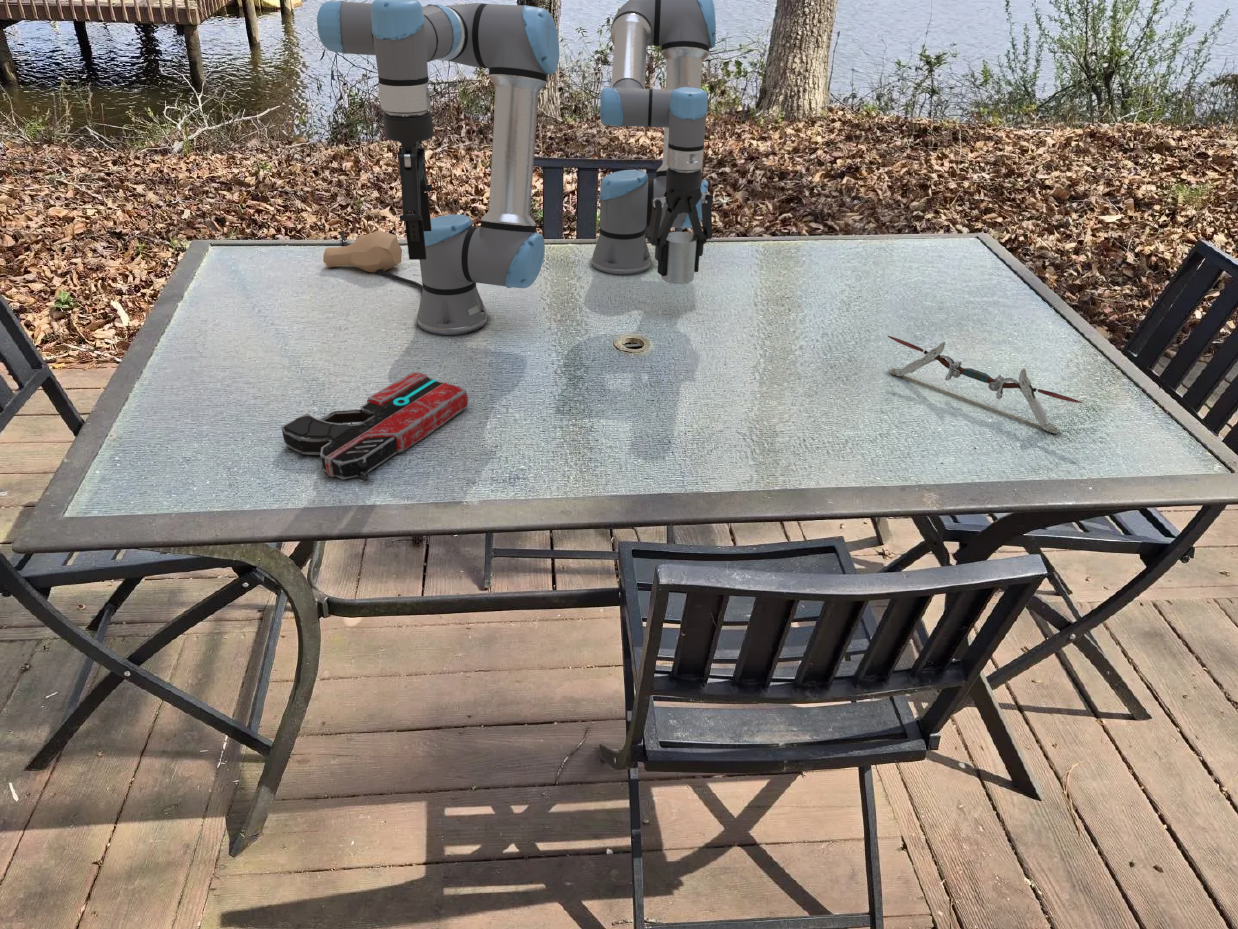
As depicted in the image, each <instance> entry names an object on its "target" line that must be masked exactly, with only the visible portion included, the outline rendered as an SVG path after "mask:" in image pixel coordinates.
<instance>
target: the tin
mask: <svg viewBox="0 0 1238 929" xmlns="http://www.w3.org/2000/svg"><path fill="white" fill-rule="evenodd" d="M696 245H697V237H696V236H695V235H694V233H691V232H687V231H670V232H669V234H668V237H667V239H666V242H665V244H664V246H666V247H667V258H666V275H665V276H661V275H660V276H661V279H662V280H663V281H664V282H666V283H668V284H675V285H684V284H685V285H687V284H690V283H692V282H693V281H694V280H695V272H694V271H695V258H696Z"/></svg>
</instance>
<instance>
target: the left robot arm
mask: <svg viewBox="0 0 1238 929" xmlns="http://www.w3.org/2000/svg"><path fill="white" fill-rule="evenodd" d="M316 26H317V35H318V37H319V40H320V42H321V44H322V45H323V47H324V48H325V49H326V50H328V51H330V52H333V53H341V54H343V55H362V56H363V55H364V56H375V61H376V69H377V80H378V81H377V83H378V91H379V100H380V109H382V110H383V112H384V113H383V115H382V122H383V131H384V136H385V138H386V139H388V140H389V141H392V142H398V143H400V144H401V145H400V147H399V148H398V151H397V161H398V164H399V176H400V188H401V205H402V215H399V222H404V226H405V235H406V242H407V253H408V260H409V261H410V260H411V261H413V260H415V261H416V260H419V267H420V275H421V276H420V278H421V283H419V282H417V281H414V280H411V279H408V278H405V277H401V276H399V275H396V274H393V273H390V272H388V271H382V270H377V271H376V272H375V273H377V274H379V275H382V276H385V277H388V278H391V279H393V280H396V281H399V282H402V283H405V284H408V285H412V286H414V287H416V288H418V289H419V290H420V291H421V297H420V302H419V305H418V310H417V315H416V318H417V325H418V326H419V328H420V329H421V330H423V331H424V332H427V333H430V334H433V335H440V336H459V335H465V334H469V333H473V332H476V331H477V330H480V329H481V328H483V327H484V326H485V325H486V323H487V320H488V316H487V310H486V306H485V304H484V302H483V299H482V298H481V295H480V293H479V291H478V288H477V284H484V285H490V286H491V285H492V286H499V287H506V288H507V289H511V288H513V289H514V288H515V289H527V288H530V287H531V286H533V284H534V283H535V281H536V280H537V278H538V277H539V275H540V272H541V269H542V266H543V262H544V258H545V251H546V250H545V249H546V246H545V238H544V236H543V235H542V234H541V233H539V232H537V225H538V223H537V222H536V221H535V220H534V218H533V217H532V216H531V207H532V192H533V179H534V165H535V164H534V163H535V148H536V137H537V136H536V135H537V134H536V133H537V121H538V108H539V93H540V92H541V90H543V89H544V88H545V87H546V86H547V85H548V84H547V83H548V75H552V74H554V73H556V72H557V70H558V64H559V63H560V41H559V34H558V29H557V25H556V23H555V20H554V18H553V16H552V15H551V13H550V11H548V10H547V9H546V8H542V7H538V6H533V5H532V6H531V5H527V4H524V5H522V4H521V5H520V4H519V5H518V4H498V3H497V4H496V3H485V2H484V3H482V2H472V3H461V4H454V5H453V4H451V5H443V4H433V3H432V4H431V3H430V4H429V3H428V4H427V5H424V6H422V4H421V2H420V1H419V0H373V1H372V3H370V2H356V1H353V2H352V1H345V0H338V1H336V0H333V1H332V0H329V1H325V2H324V3H322V4H321V6H320V7H319V9H318V12H317V15H316ZM435 60H437V61H442V62H451V63H455V64H460V65H465V66H468V67H474V68H478V69H479V68H480V69H488V79H489V80H490V81H491V83H492V84H493V85H494V87H495V88H494V89H495V90H494V92H495V94H494V108H493V109H494V112H493V129H492V143H491V144H492V147H491V163H490V164H491V165H490V179H489V180H490V183H489V200H488V202H489V203H488V211H487V212H486V213H485V214H484V215H483V216H482V217H481V218H480V226H474V225H473V224H474V221H473V220H472V218H471V216H469V215H466V214H457V213H456V214H455V213H454V214H444V215H440V216H436V217H432V218H431V210H430V199H429V192H432V191H433V189H432V188H433V187H432V184H428V183H429V179H428V175H427V169H426V149H425V147H423V142H425V141H428V140H430V139H432V138H433V137H434V133H435V132H434V122H433V114H432V113H431V111H430V110H431V107H432V104H431V103H432V102H431V96H433V95H435V91H434V89H433V88H432V87H429V86H430V83H429V81H430V79H429V68H428V63H430V62H432V61H435ZM339 235H340V238H341V241H343V240H344V241H345V240H346V242H342V244H343V247H344V246H348V245H349V244H348V242H347V239H346V235H345V232H344V231H343V230H341V231H340V232H339Z"/></svg>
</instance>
